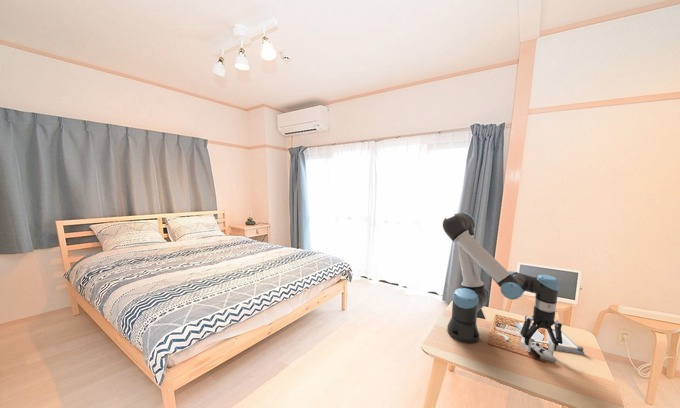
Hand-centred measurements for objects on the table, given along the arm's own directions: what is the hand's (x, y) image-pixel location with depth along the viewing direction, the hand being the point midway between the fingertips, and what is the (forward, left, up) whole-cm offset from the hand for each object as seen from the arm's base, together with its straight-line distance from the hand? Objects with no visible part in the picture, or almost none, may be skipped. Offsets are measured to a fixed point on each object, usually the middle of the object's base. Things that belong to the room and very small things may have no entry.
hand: (538, 353), depth 111 cm
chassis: (+10, +15, -1) cm, 18 cm away
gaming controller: (0, 0, -1) cm, 1 cm away
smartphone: (-18, +33, -1) cm, 37 cm away
